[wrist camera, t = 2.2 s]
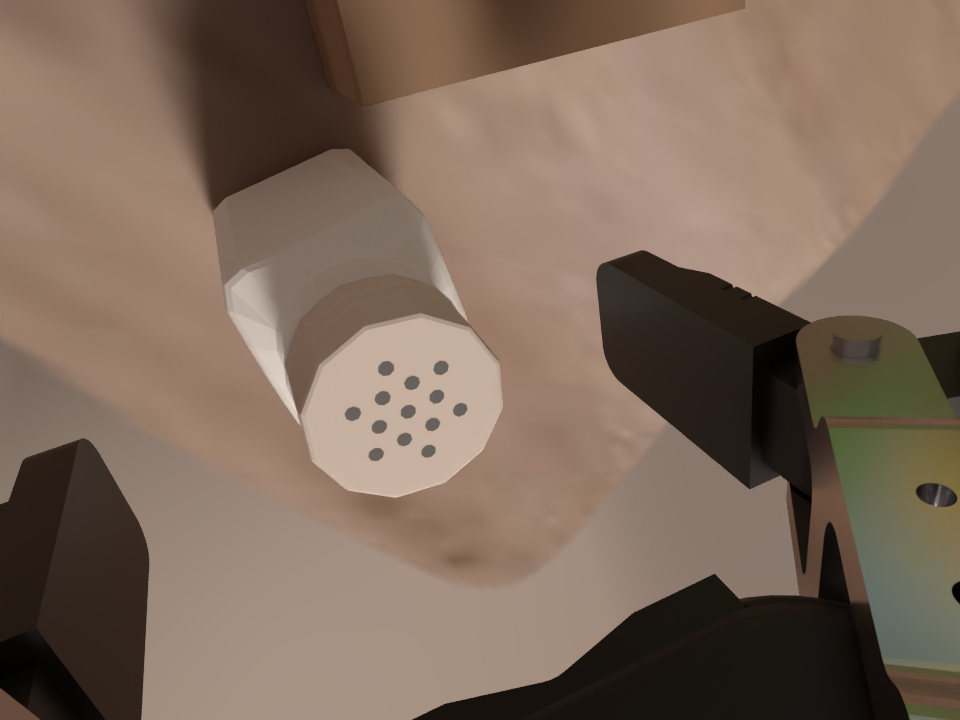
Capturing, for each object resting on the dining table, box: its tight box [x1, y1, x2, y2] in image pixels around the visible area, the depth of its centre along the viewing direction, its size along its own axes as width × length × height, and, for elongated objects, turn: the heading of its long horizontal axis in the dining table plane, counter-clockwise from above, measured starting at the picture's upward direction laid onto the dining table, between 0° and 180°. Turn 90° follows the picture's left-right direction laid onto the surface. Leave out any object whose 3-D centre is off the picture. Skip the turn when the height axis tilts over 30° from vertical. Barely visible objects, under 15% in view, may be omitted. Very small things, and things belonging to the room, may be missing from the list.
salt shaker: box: [213, 149, 503, 498], centre depth 14 cm, size 4×4×10 cm
